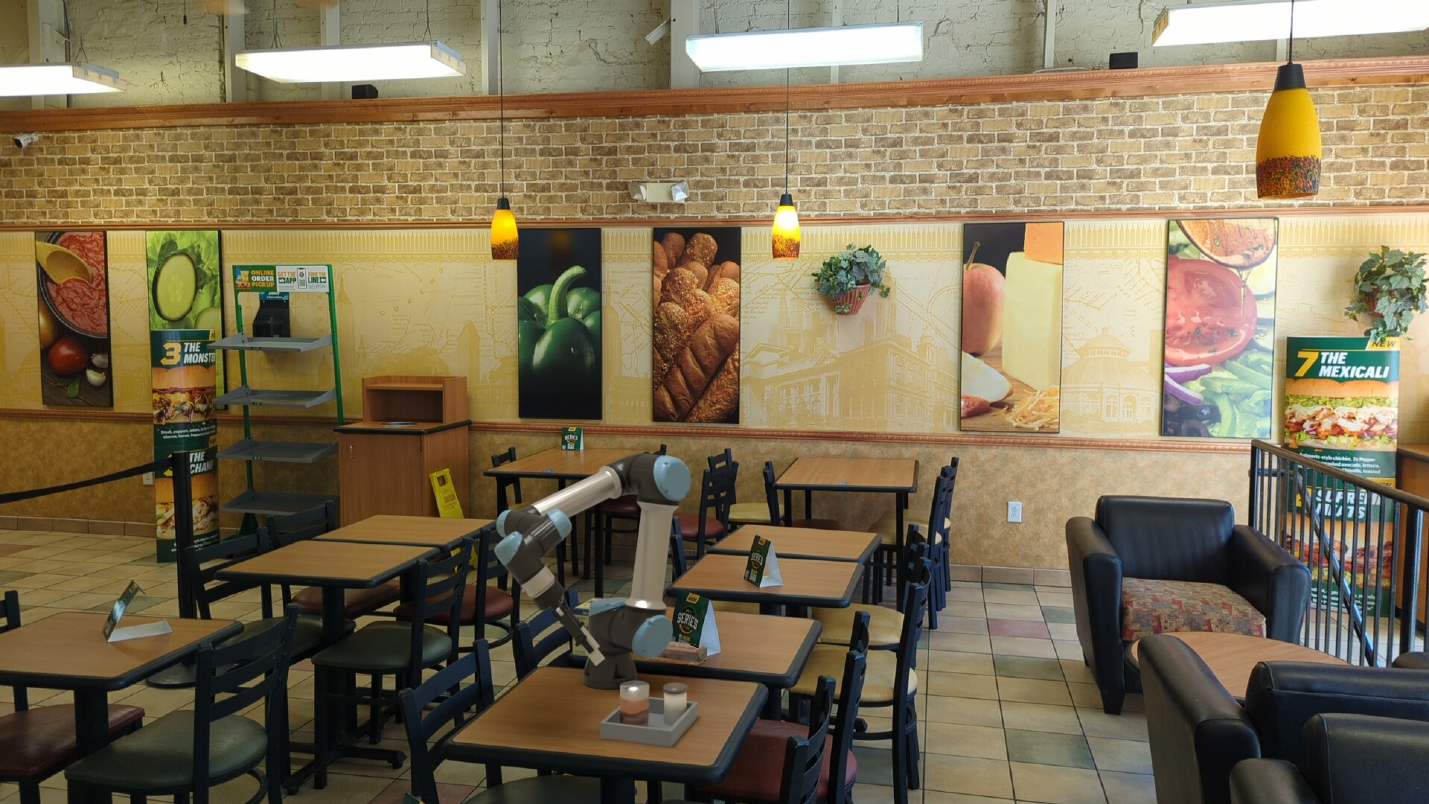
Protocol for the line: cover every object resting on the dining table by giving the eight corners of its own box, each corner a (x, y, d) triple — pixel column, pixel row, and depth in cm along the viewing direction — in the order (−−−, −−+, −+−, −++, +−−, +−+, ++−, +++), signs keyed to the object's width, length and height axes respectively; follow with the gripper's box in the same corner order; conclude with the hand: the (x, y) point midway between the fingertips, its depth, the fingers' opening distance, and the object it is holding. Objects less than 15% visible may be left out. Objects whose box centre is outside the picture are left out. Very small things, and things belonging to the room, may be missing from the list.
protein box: (571, 659, 297) (571, 608, 297) (595, 645, 312) (595, 596, 311) (603, 663, 294) (602, 611, 293) (625, 648, 308) (625, 599, 308)
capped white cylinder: (660, 724, 243) (660, 692, 243) (668, 716, 249) (668, 684, 248) (682, 726, 242) (682, 694, 241) (689, 718, 247) (689, 687, 247)
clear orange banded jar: (615, 733, 237) (615, 688, 236) (625, 723, 244) (626, 679, 243) (642, 737, 235) (643, 691, 234) (652, 726, 242) (653, 682, 241)
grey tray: (600, 741, 234) (599, 722, 234) (631, 712, 254) (631, 695, 253) (671, 750, 229) (671, 731, 229) (698, 720, 248) (698, 702, 248)
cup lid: (658, 690, 244) (658, 687, 244) (672, 684, 249) (672, 681, 249) (677, 695, 241) (677, 692, 241) (692, 688, 246) (692, 685, 246)
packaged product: (711, 643, 299) (697, 652, 290) (711, 659, 299) (697, 668, 290) (658, 636, 307) (643, 644, 298) (658, 651, 307) (643, 660, 298)
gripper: (530, 591, 251) (581, 654, 253) (532, 607, 227) (589, 678, 229) (553, 572, 252) (604, 635, 255) (558, 586, 228) (615, 656, 230)
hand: (597, 655), depth 242 cm, fingers open, 13 cm apart
